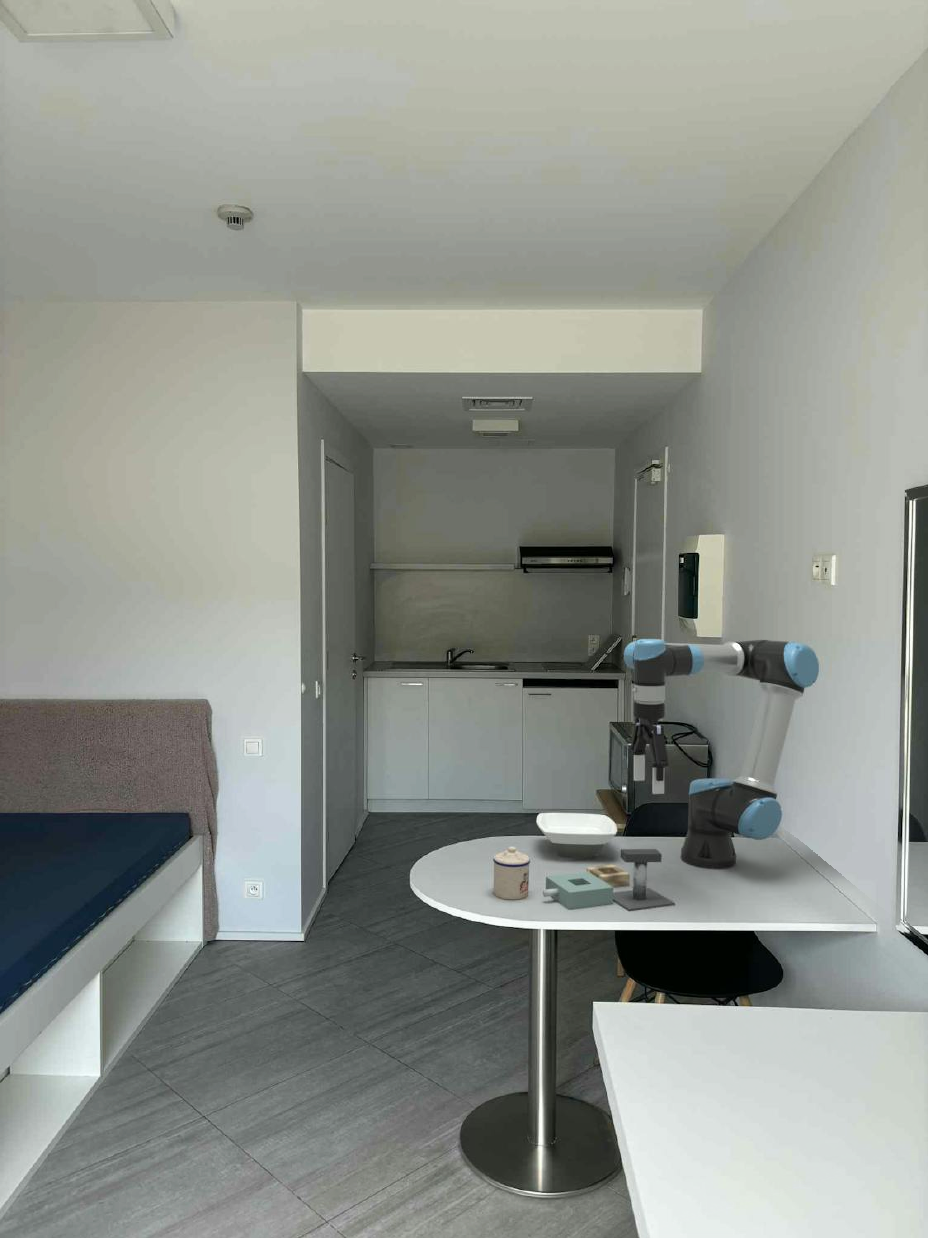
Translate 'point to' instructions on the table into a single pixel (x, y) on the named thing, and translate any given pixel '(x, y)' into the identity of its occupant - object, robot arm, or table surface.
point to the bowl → (577, 832)
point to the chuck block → (578, 890)
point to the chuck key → (640, 868)
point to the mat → (651, 900)
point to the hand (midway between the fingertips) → (648, 787)
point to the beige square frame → (610, 875)
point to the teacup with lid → (511, 874)
